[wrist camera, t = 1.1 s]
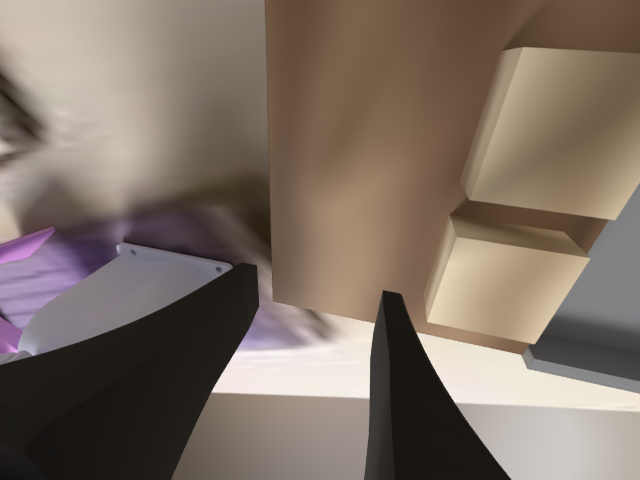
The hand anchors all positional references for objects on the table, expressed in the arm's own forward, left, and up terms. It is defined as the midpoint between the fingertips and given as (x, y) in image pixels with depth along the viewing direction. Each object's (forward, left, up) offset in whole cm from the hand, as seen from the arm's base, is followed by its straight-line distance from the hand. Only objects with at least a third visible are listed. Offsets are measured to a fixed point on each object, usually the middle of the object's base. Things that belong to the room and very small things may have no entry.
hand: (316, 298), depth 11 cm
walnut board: (+3, +3, -7) cm, 9 cm away
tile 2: (+7, +6, -4) cm, 10 cm away
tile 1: (+7, 0, -4) cm, 8 cm away
